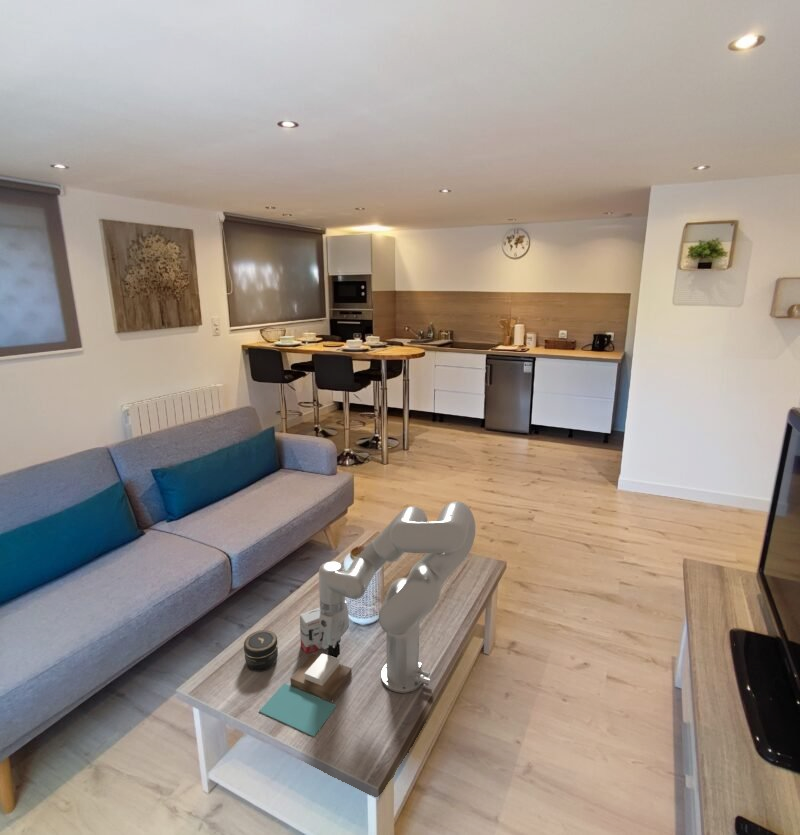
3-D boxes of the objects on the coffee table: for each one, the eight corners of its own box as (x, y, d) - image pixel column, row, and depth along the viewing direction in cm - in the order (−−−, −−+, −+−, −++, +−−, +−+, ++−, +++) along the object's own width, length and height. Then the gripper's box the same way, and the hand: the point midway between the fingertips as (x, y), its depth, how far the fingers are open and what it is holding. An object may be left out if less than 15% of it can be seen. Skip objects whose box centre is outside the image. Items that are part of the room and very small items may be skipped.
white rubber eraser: (339, 665, 148) (338, 659, 147) (322, 686, 140) (322, 680, 139) (322, 658, 150) (322, 653, 150) (304, 679, 142) (304, 673, 142)
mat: (336, 706, 136) (336, 705, 136) (314, 736, 127) (313, 736, 127) (284, 684, 143) (284, 683, 143) (259, 711, 134) (259, 710, 134)
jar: (261, 645, 159) (260, 625, 157) (285, 656, 154) (284, 635, 152) (238, 665, 150) (236, 644, 148) (262, 677, 146) (261, 656, 144)
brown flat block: (351, 675, 147) (351, 668, 146) (331, 702, 137) (331, 694, 137) (312, 660, 153) (312, 653, 152) (290, 685, 143) (290, 678, 142)
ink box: (306, 655, 155) (305, 622, 152) (300, 645, 159) (298, 614, 156) (331, 644, 160) (330, 613, 157) (324, 636, 164) (323, 605, 160)
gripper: (329, 621, 138) (330, 675, 142) (356, 592, 151) (357, 643, 155) (307, 613, 141) (309, 667, 145) (335, 586, 154) (337, 636, 158)
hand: (334, 654), depth 150 cm, fingers closed
